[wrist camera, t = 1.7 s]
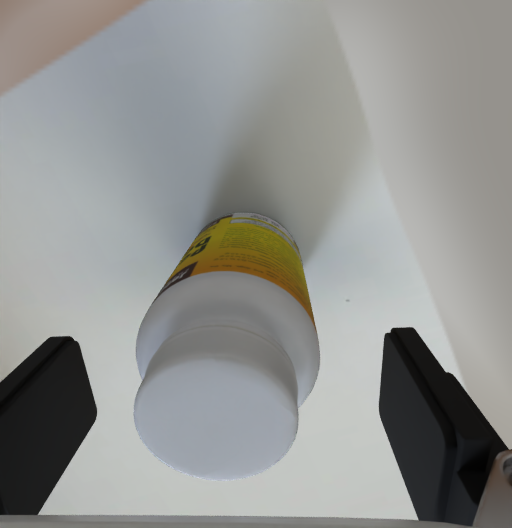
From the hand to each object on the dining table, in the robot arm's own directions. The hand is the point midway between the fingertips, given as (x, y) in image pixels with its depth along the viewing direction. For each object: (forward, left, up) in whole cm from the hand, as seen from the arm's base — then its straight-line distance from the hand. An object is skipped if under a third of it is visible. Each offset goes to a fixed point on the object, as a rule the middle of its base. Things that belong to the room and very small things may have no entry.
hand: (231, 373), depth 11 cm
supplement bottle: (-1, 0, -8) cm, 8 cm away
